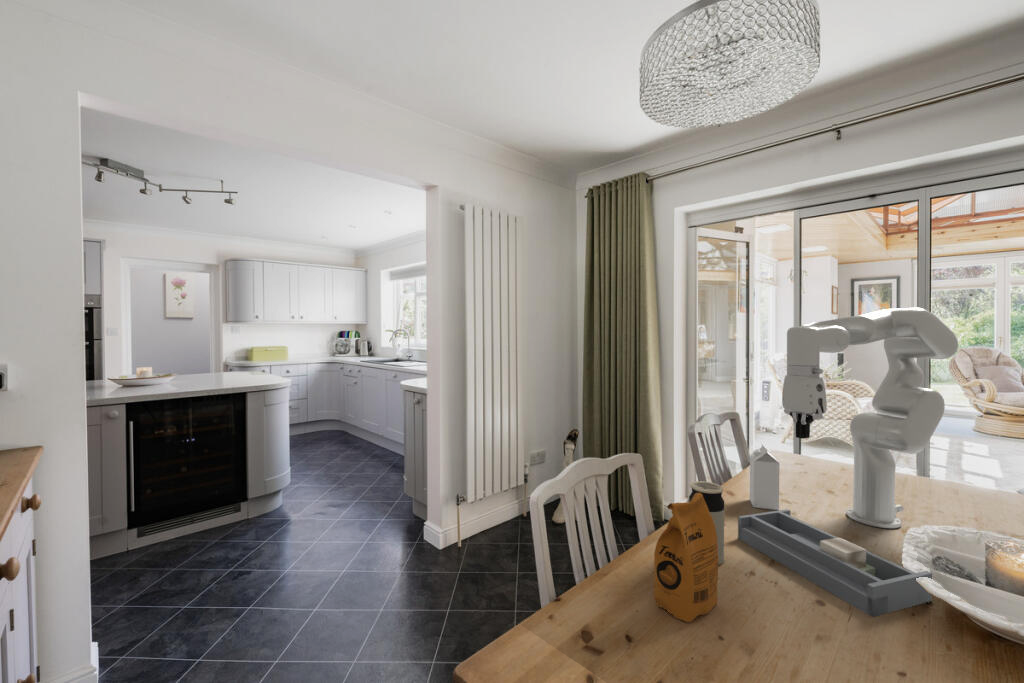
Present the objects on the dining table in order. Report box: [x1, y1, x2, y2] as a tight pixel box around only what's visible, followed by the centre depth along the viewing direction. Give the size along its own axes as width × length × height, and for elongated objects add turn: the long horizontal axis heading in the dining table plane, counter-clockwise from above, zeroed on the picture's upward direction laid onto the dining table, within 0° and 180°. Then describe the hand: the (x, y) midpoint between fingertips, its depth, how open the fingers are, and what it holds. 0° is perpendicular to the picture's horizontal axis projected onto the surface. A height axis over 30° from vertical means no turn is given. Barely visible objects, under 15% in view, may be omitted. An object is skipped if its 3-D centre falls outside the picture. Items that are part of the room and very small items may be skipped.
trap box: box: [737, 508, 933, 618], centre depth 105 cm, size 17×34×6 cm, turn 16°
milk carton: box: [749, 443, 781, 511], centre depth 141 cm, size 7×7×19 cm
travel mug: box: [688, 480, 725, 566], centre depth 109 cm, size 8×8×18 cm
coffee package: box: [653, 493, 719, 623], centre depth 90 cm, size 10×12×22 cm
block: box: [820, 536, 867, 569], centre depth 100 cm, size 6×6×4 cm
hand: (802, 437), depth 122 cm, fingers closed
